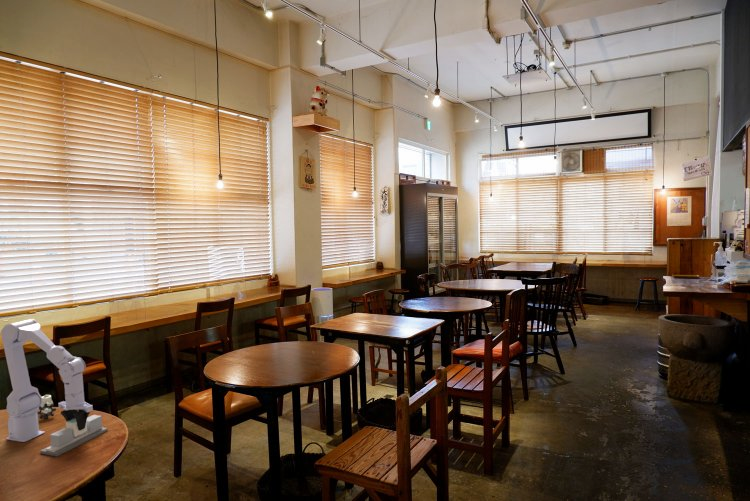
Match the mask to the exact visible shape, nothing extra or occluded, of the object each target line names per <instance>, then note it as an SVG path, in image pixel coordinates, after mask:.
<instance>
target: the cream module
mask: <svg viewBox="0 0 750 501" xmlns="http://www.w3.org/2000/svg"><path fill="white" fill-rule="evenodd" d="M65 429H71V430H72V436H73V437H76V436H78V435H80V434H82V433H84V432H86V431H87V421H86V425H85V428H84V429H82V430H80V431H79V430H78V427H77V421H76V419H75V418H74V419H72V420H69V421H66V422H65Z"/></svg>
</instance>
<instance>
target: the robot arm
mask: <svg viewBox="0 0 750 501" xmlns="http://www.w3.org/2000/svg"><path fill="white" fill-rule="evenodd" d="M41 327H42V326H41V324H40V323H38V321H37V320H36V319H34V318H28V319H25V320H20V321H16V322H11V323H7V324H5V325H4V326H3V327H2V329H1V330H0V336H1V339H2V345H3V350H4V354H5V359H6V364H7V368H8V374H9V378H10V382H11V387H12V391H11V392H10V393H9V395H8V396H7V397H6V402H7V403H6V404H7V405H6V412H7V414H8V415H9V417H8V419H7V427H8V437H6V440H9V441H14V442H15V441H16V442H21V443H26V442H28V441H30V440H33V439H34V438H37V437H38V436H41V435H43V434H45V431H44V430H40V427H39V415H38V413H37V412H39V411H40V410H39V407H40V406H41V404H42V397H43V396H42V395H41V394H40V392H39V388H37V387H35V386H32V384H31V381H30V380H31V379H30V376H29V369H28V366H27V360H26V356H25V351H24V347H23V346H24V345H25V344H26V342H28V341H29V342H30V341H31V343H33V344H34V345H36V346H37V347H39V348H40V349H41V350H42V351H44V352H45V353H46V358H47V359H48V360H49V361H50V362H51V363H52V364H53V365H54V366H56V368H57V369H58V374H59V376H60V377H61V381H62V383H63V384H64V399H65V401H64V400H63V401H60V402H58V409H63V410H61V411H60V415H61V416H63V418H64V420H65V421H66V422H67V421H69V420H72V419H74V418H75V419H76V421H77V427H78V430H79V431H80V430H82V429H84V428H85V425H86V421H87V418H88V417H89V414H90V413H91V412H93V410H94V408H93V404H90V403H88V402H86V401H85V391H84V389H85V388H84V379H83V378H84V376H83V373H84V372H85V370H86V368H87V367H86V362H85V361H84V360H83V358H82V357H77V356H73V355H72V354H71V353H70V352H69V351H68V350H66V348H65V347H64V346H62V345H55V344H54V342H53V341H52V340H50V338H49V337H48V336H47V335H46V334H45V333H44V332H43V331H42V330H41V329H42V328H41Z"/></svg>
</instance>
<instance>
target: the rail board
mask: <svg viewBox="0 0 750 501" xmlns="http://www.w3.org/2000/svg"><path fill="white" fill-rule="evenodd" d="M105 432H108V427H104V426H103V420H102V415H97V414H93V415H90V416H88V417H87V431H86V432H84V433H82V434H80V435H78V436H76V437H73V436H72V430H71V429H66V428H62V429H60V430H57V431H55V432H53V433H51V434H49V436H50V445H49V446H47V447H45V448H43V449H40V452H39V453H40V454H42V455H47V456H53V457H58V456H61V455H62V454H65V453H67V452H69V451H71V450H73V449H75V448H77V447H79V446H80V445H82V444H84V443H86V442H89V441H90V440H92V439H94V438H96V437H98V436H100V435H102V434H104V433H105Z"/></svg>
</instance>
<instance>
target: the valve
mask: <svg viewBox="0 0 750 501" xmlns="http://www.w3.org/2000/svg"><path fill="white" fill-rule="evenodd" d="M41 397H42V404H41V406H40V407H39V410H38V411H37V413H38V420H42V419H43V418H44V420H48V419H49V417H50V416H51V417H54V416H55V413H53V412H55V411H57V408H56V407H54V402H53V399H52V395H51V394H45V395H43V396H41ZM53 407H54V408H53ZM44 414H45V415H44Z"/></svg>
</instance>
